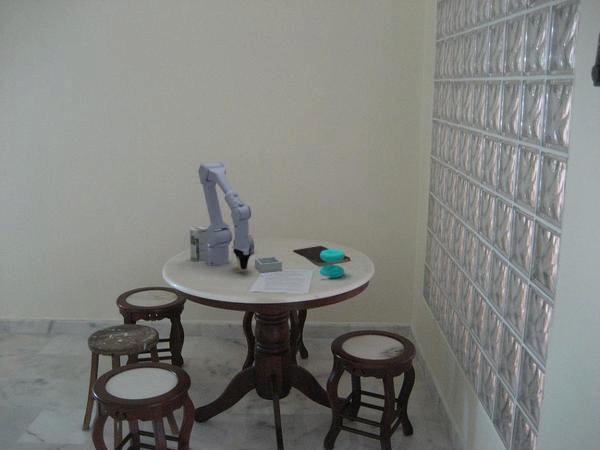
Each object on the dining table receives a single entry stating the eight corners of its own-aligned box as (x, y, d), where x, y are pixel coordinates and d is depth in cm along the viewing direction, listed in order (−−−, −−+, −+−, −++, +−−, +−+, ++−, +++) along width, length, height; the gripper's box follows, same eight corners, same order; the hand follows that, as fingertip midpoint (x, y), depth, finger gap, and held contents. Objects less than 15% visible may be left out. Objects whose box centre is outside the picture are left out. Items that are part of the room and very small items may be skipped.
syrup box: (190, 260, 292) (188, 228, 289) (201, 257, 296) (199, 226, 293) (197, 262, 288) (196, 230, 285) (208, 260, 292) (207, 228, 289)
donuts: (343, 255, 262) (318, 254, 264) (343, 279, 264) (318, 278, 266) (345, 248, 272) (321, 247, 273) (345, 272, 274) (321, 271, 276)
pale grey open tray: (260, 272, 270) (260, 264, 269) (255, 266, 278) (254, 258, 277) (281, 270, 273) (281, 262, 272) (275, 264, 281) (275, 256, 280)
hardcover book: (319, 267, 282) (319, 262, 281) (292, 255, 301) (292, 250, 301) (350, 262, 290) (350, 257, 289) (322, 250, 309) (322, 245, 309)
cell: (238, 272, 269) (238, 257, 268) (236, 270, 273) (236, 254, 271) (248, 271, 271) (248, 256, 269) (246, 269, 274) (245, 253, 273)
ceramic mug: (232, 251, 306) (232, 235, 304) (249, 249, 309) (249, 233, 307) (239, 257, 297) (239, 240, 295) (257, 255, 300) (256, 238, 298)
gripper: (227, 232, 274) (228, 263, 277) (236, 240, 260) (237, 273, 264) (244, 230, 276) (245, 261, 279) (253, 238, 263) (254, 271, 266)
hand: (242, 267), depth 271 cm, fingers closed on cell, 4 cm apart
